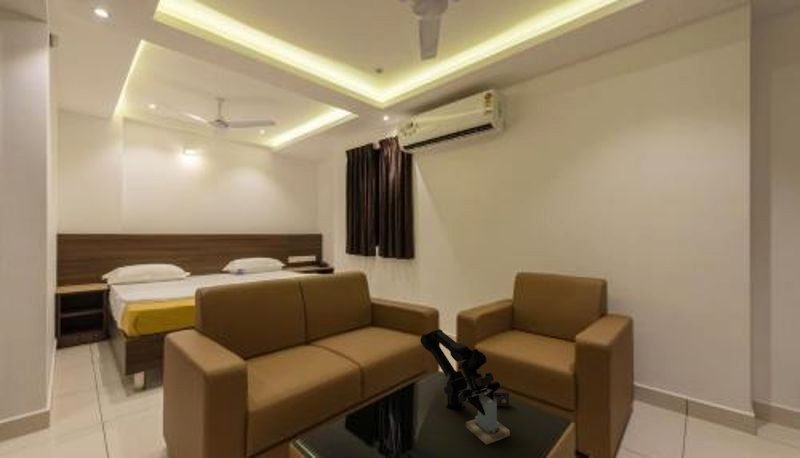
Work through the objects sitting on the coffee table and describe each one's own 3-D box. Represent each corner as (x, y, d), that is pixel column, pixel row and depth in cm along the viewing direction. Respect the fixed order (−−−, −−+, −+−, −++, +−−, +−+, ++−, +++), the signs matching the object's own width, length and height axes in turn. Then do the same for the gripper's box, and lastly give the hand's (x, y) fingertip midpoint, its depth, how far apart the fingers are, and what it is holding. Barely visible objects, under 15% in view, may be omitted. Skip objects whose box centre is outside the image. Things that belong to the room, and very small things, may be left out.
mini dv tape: (508, 404, 159) (508, 391, 159) (508, 406, 158) (508, 393, 158) (489, 403, 160) (489, 391, 160) (490, 405, 159) (490, 392, 159)
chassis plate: (466, 427, 143) (466, 422, 143) (488, 419, 148) (488, 414, 148) (486, 444, 132) (486, 439, 132) (509, 435, 137) (509, 430, 137)
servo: (475, 423, 143) (475, 394, 143) (484, 420, 145) (484, 391, 145) (490, 435, 135) (490, 405, 134) (499, 432, 137) (499, 402, 136)
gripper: (461, 371, 138) (479, 412, 129) (498, 362, 147) (517, 400, 137) (450, 382, 146) (466, 422, 136) (485, 373, 154) (503, 409, 145)
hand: (489, 413), depth 139 cm, fingers closed on servo, 4 cm apart
